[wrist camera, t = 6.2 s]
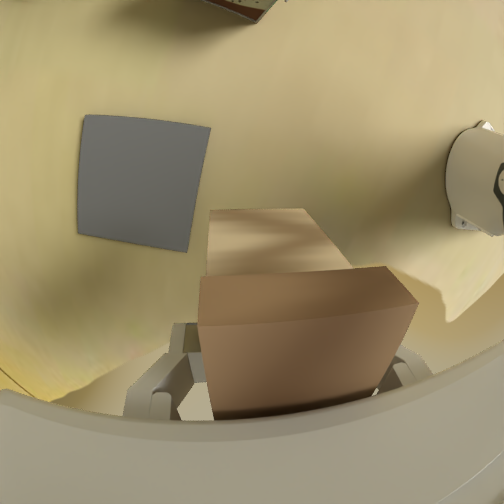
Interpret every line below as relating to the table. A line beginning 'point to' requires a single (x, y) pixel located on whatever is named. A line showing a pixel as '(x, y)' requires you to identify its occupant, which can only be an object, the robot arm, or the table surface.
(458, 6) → the table surface
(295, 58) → the table surface
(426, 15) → the table surface
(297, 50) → the table surface
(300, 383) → the tall wooden block
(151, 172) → the mat
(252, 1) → the half chocolate cake
